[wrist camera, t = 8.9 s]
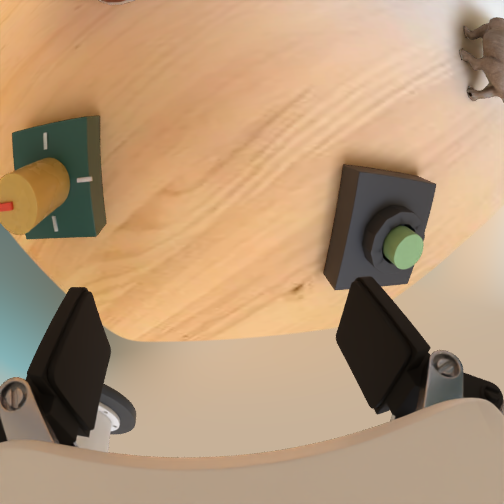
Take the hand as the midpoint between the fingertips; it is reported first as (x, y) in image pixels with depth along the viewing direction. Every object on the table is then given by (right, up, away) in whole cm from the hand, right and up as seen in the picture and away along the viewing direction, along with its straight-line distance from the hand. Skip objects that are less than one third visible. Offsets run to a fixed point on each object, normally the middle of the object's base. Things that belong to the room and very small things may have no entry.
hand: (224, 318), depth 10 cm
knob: (-16, +8, +9) cm, 20 cm away
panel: (-16, +9, +11) cm, 22 cm away
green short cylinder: (+15, +3, +15) cm, 21 cm away
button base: (+14, +5, +19) cm, 24 cm away
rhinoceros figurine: (+31, +29, +10) cm, 43 cm away
